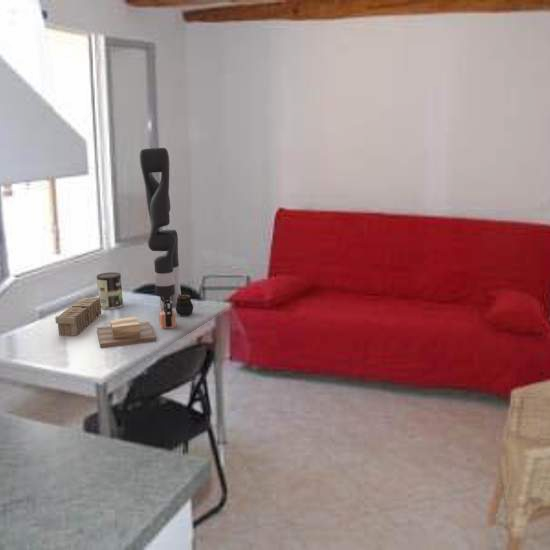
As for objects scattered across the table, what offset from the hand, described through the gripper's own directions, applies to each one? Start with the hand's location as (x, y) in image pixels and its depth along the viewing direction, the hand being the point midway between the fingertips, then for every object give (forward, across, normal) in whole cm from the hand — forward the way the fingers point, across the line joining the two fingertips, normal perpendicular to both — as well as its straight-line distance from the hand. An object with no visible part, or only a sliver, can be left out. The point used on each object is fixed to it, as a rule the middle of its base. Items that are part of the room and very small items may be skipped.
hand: (167, 324), depth 261 cm
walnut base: (+1, -6, +17) cm, 18 cm away
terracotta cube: (+1, 0, 0) cm, 1 cm away
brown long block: (+1, +16, +33) cm, 36 cm away
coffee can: (+1, +38, +19) cm, 42 cm away
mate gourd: (+1, +12, -9) cm, 15 cm away
